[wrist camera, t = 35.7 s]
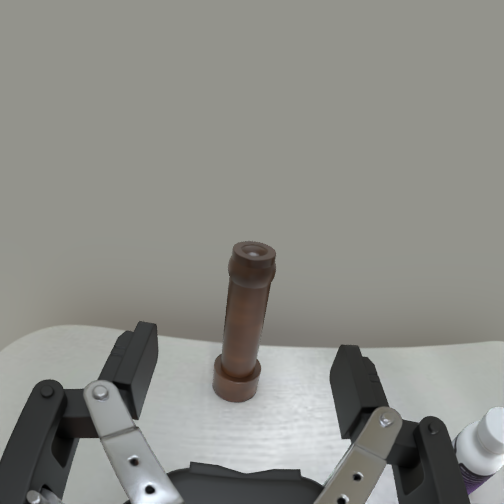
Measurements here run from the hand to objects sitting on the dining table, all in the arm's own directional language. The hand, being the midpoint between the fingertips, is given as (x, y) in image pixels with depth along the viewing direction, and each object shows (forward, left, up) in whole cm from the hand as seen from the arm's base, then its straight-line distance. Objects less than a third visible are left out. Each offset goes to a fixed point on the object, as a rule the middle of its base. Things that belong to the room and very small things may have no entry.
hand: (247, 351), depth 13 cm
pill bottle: (+17, -10, -16) cm, 25 cm away
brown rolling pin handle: (+5, +10, -16) cm, 19 cm away
